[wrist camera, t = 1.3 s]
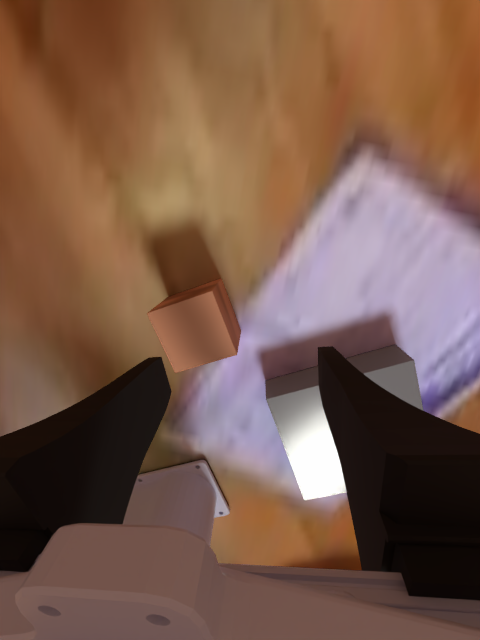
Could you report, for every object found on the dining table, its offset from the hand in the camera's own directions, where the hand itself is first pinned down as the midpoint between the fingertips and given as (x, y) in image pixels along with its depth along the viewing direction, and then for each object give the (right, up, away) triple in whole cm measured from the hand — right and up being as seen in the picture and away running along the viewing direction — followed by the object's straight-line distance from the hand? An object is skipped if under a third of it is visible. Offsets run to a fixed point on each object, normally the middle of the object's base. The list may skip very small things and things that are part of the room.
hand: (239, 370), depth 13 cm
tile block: (+10, -7, +14) cm, 19 cm away
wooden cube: (-3, +3, +12) cm, 13 cm away
